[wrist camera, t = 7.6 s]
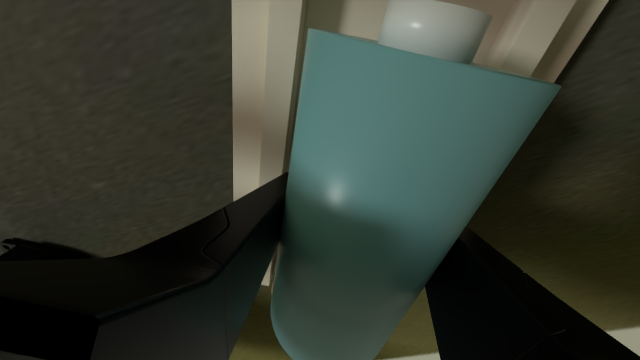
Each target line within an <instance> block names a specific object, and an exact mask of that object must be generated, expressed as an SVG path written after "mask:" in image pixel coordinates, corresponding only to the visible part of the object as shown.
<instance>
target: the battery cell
mask: <svg viewBox="0 0 640 360" xmlns="http://www.w3.org/2000/svg"><path fill="white" fill-rule="evenodd" d="M492 19H493V17H492V16H491V15H489V14H487V13H484V12H482V11H479V10H475V9H472V8H468V7H464V6H460V5H456V4H451V3H446V2H440V1H435V0H389V1H388V5H387V8H386V12H385V16H384V19H383V23H382V27H381V30H380V34H379V38H378V41H376V40H371V39H366V38H361V37H357V36H352V35H347V34H342V33H336V32H331V31H325V30H320V29H313V28H308V35H307V42H306V50H305V57H304V64H303V72H302V79H301V86H300V94H299V101H298V108H297V116H296V123H295V131H294V138H293V145H292V153H291V160H290V167H289V175H288V182H287V189H286V198H285V205H284V212H283V220H282V227H281V234H280V241H279V248H278V256H277V263H276V270H275V278H274V285H273V293H272V300H271V320H272V325H273V329H274V332H275V335H276V337H277V339H278V341H279V343H280V344H281V346H282V347H283V349H284V350H285V352H286V353H287V354H288V355H289V356H290V357H291V358H292V359H293V360H374V358H375V357H376V356H377V355H378V353H379V352H380V350H381V349H382V347H383V346H384V344H385V343H386V342H387V340H388V339H389V337H390V336H391V334H392V333H393V331H394V330H395V328H396V327H397V326H398V324H399V323H400V321H401V320H402V318H403V317H404V315H405V314H406V312H407V311H408V310H409V308H410V307H411V305H412V304H413V302H414V301H415V299H416V298H417V296H418V295H419V294H420V292H421V291H422V289H423V288H424V286H425V285H426V283H427V282H428V280H429V279H430V278H431V276H432V275H433V273H434V272H435V270H436V269H437V267H438V266H439V264H440V263H441V262H442V260H443V259H444V257H445V256H446V254H447V253H448V251H449V250H450V248H451V247H452V246H453V244H454V243H455V241H456V240H457V238H458V237H459V235H460V234H461V233H462V231H463V230H464V228H465V227H466V225H467V224H468V222H469V221H470V219H471V218H472V217H473V215H474V214H475V212H476V211H477V209H478V208H479V206H480V205H481V203H482V202H483V201H484V199H485V198H486V196H487V195H488V193H489V192H490V190H491V189H492V187H493V186H494V185H495V183H496V182H497V180H498V179H499V177H500V176H501V174H502V173H503V171H504V170H505V169H506V167H507V166H508V164H509V163H510V161H511V160H512V158H513V157H514V155H515V154H516V153H517V151H518V150H519V148H520V147H521V145H522V144H523V142H524V141H525V139H526V138H527V137H528V135H529V134H530V132H531V131H532V129H533V128H534V126H535V125H536V123H537V122H538V121H539V119H540V118H541V116H542V115H543V113H544V112H545V110H546V109H547V108H548V106H549V105H550V103H551V102H552V100H553V99H554V97H555V96H556V94H557V93H558V92H559V90H560V89H561V87H562V86H560V85H557V84H554V83H551V82H548V81H544V80H541V79H537V78H533V77H529V76H526V75H522V74H518V73H514V72H510V71H506V70H502V69H498V68H494V67H490V66H486V65H481V64H477V63H473V62H472V61H473V59H474V57H475V55H476V52H477V50H478V48H479V46H480V44H481V42H482V40H483V38H484V36H485V33H486V31H487V29H488V27H489V25H490V23H491V21H492Z"/></svg>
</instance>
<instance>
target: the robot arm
mask: <svg viewBox="0 0 640 360" xmlns="http://www.w3.org/2000/svg"><path fill="white" fill-rule="evenodd" d="M288 175H289V172H285V173H283V174H282V175H280V176H278V177H276V178H275V179H273V180H271V181H269V182H268V183H266V184H264V185H262V186H260V187H259V188H257V189H255V190H253V191H252V192H250V193H248V194H246V195H244V196H243V197H241V198H239V199H237V200H236V201H234V202H232V203H230V204H229V205H227V206H225V207H223V209H222V208H221V209H219V210H218V211H216V212H214V213H212V214H210V215H209V216H207V217H205V218H203V219H201V220H199V221H197V222H195V223H193V224H191V225H189V226H187V227H184V228H182V229H180V230H178V231H176V232H173V233H171V234H169V235H167V236H164V237H162V238H160V239H158V240H155V241H153V242H151V243H149V244H147V245H144V246H142V247H140V248H138V249H135V250H133V251H130V252H127V253H124V254H121V255H117V256H113V257H107V258H97V259H88V258H87V257H86V256H84V255H82V254H79V253H74V252H69V251H64V250H60V249H55V248H50V247H45V246H41V245H36V244H31V243H26V242H22V241H17V240H12V239H5V240H4V241H2V242H0V247H1V248H2V250H3V251H4V252H5V253H4V254H2V255H1V256H0V360H228V359H229V357H230V355H231V353H232V350H233V348H234V346H235V343H236V341H237V339H238V337H239V334H240V332H241V330H242V327H243V325H244V323H245V320H246V318H247V316H248V313H249V311H250V309H251V306H252V304H253V302H254V299H255V297H256V295H257V292H258V290H259V288H260V285H261V283H262V281H263V278H264V276H265V274H266V271H267V269H268V267H269V264H270V262H271V260H272V258H273V255H274V253H275V251H276V248H277V246H278V244H279V241H280V234H281V227H282V220H283V212H284V205H285V198H286V189H287V182H288ZM425 289H426V293H427V298H428V303H429V308H430V312H431V317H432V322H433V326H434V331H435V336H436V340H437V345H438V350H439V354H440V359H441V360H640V356H638V355H637V354H635V353H634V352H632V351H631V350H630V349H628V348H627V347H626V346H624V345H623V344H621V343H620V342H619V341H617V340H616V339H614V338H613V337H612V336H610V335H609V334H607V333H606V332H605V331H603V330H602V329H601V328H599V327H598V326H596V325H595V324H594V323H592V322H591V321H589V320H588V319H587V318H585V317H584V316H582V315H581V314H580V313H578V312H577V311H575V310H574V309H573V308H571V307H570V306H569V305H567V304H566V303H565V302H563V301H562V300H560V299H559V298H558V297H556V296H555V295H554V294H552V293H551V292H550V291H548V290H547V289H546V288H545V287H543V286H542V285H541V284H539V283H538V282H537V281H535V280H534V279H533V278H532V277H530V276H529V275H528V274H526V273H523V270H521V269H520V268H519V267H517V266H516V265H515V264H514V263H512V262H511V261H510V260H508V259H507V258H506V257H505V256H503V255H502V254H501V253H499V252H498V251H497V250H496V249H494V248H493V247H492V246H491V245H489V244H488V243H487V242H485V241H484V240H483V239H482V238H480V237H479V236H478V235H476V234H475V233H474V232H473V231H471V230H470V229H469V228H468V227H465V228H464V230H463V231H462V233H461V234H460V235H459V237H458V238H457V240H456V241H455V243H454V244H453V246H452V247H451V248H450V250H449V251H448V253H447V254H446V256H445V257H444V259H443V260H442V262H441V263H440V264H439V266H438V267H437V269H436V270H435V272H434V273H433V275H432V276H431V278H430V279H429V280H428V282H427V283H426V285H425Z"/></svg>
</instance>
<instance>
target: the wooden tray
mask: <svg viewBox="0 0 640 360" xmlns="http://www.w3.org/2000/svg"><path fill="white" fill-rule="evenodd" d="M388 1H389V0H232V77H233V190H234V201H236V200H237V199H239V198H241V197H243V196H244V195H246V194H248V193H250V192H252V191H253V190H255V189H257V188H259V187H260V186H262V185H264V184H266V183H268V182H269V181H271V180H273V179H275V178H276V177H278V176H280V175H282V174H283V173H285V172H289V167H290V160H291V153H292V145H293V138H294V131H295V123H296V116H297V108H298V101H299V94H300V86H301V79H302V72H303V64H304V57H305V50H306V42H307V35H308V28H313V29H320V30H325V31H331V32H336V33H342V34H347V35H352V36H357V37H361V38H366V39H371V40H376V41H378V38H379V34H380V30H381V27H382V23H383V19H384V16H385V12H386V8H387V5H388ZM435 1H440V2H446V3H451V4H456V5H460V6H464V7H468V8H472V9H475V10H479V11H482V12H484V13H487V14H489V15H491V16H492V17H493V19H492V21H491V23H490V25H489V27H488V29H487V31H486V33H485V36H484V38H483V40H482V42H481V44H480V46H479V48H478V50H477V52H476V55H475V57H474V59H473V61H472V62H473V63H477V64H481V65H486V66H490V67H494V68H498V69H502V70H506V71H510V72H514V73H518V74H522V75H526V76H529V77H533V78H537V79H541V80H544V81H548V82H551V83H554V82H555V80H556V79H557V77H558V76H559V74H560V73H561V71H562V70H563V68H564V67H565V65H566V64H567V62H568V61H569V59H570V58H571V56H572V55H573V53H574V52H575V50H576V49H577V47H578V46H579V44H580V43H581V41H582V40H583V38H584V37H585V35H586V34H587V32H588V31H589V29H590V28H591V26H592V25H593V23H594V22H595V20H596V19H597V17H598V16H599V14H600V13H601V11H602V10H603V8H604V7H605V5H606V4H607V2H608V1H609V0H435ZM278 248H279V244H278V246H277V248H276V251H275V253H274V255H273V258H272V260H271V262H270V264H269V267H268V269H267V271H266V274H265V276H264V278H263V281H262V283H261V285H266V286H269V284H270V281H271V278H272V274H273V271H274V270H276V263H277V256H278ZM274 278H275V277H274ZM273 285H274V280H273V283H272V291H271V293H273Z"/></svg>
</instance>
